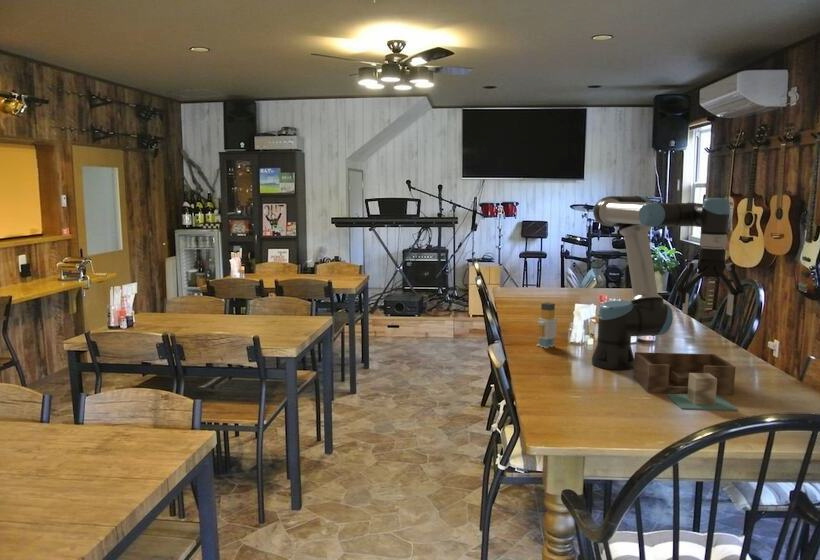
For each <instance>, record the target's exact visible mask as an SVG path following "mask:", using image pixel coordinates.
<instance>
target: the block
mask: <svg viewBox="0 0 820 560" xmlns="http://www.w3.org/2000/svg"><path fill="white" fill-rule="evenodd" d="M716 390H717V378H715V377H714V376H712V375H711V374H710V373H689V381H688V394H687V395H688V396H687V398H688V399H689V400H690V401H691V402H692V403H694V404H697V405H715V403H716Z"/></svg>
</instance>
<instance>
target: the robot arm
mask: <svg viewBox="0 0 820 560" xmlns="http://www.w3.org/2000/svg"><path fill="white" fill-rule="evenodd" d="M730 203H731V202H730V200H729V199H728V198H726V197H723V198H722V197H705V198H704V199H703V202H702V203H699V202H653V201H652V200H651V199H650V198H649V197H647V196H639V195H634V196H633V195H632V196H627V195H625V196H624V195H622V196H619V195H618V196H616V195H611V196H606V197H605V196H604V197H603V198H601V199H599V200H598V201H596V203H595V205H594V207H593V210H592V211H593V213H592V214H593V217H594V219H595V220H596V222H597V223H598V224H600V225H602V226H604V227H614V228H615V227H616V228H618V230H619V234H620V235H621V236H623V237H624V243H625V249H626V250H625V251H626V256H627V257H626V258H627V263H628V268H629V269H628V271H629V276H630V283H631V289H632V298H631V300H610V301H606V302H603V303H601V305H599V310H598V314H597V315H598V316H597V317H598V320H597V321H598V326H597V327H598V328H597V343H596V346H595V349H594V351H593V354H592V356H591V364H592V365H593V366H595V367H597V368H601V369H605V370H606V369H607V370H614V371H616V370H617V371H625V370H632V369H634V356H635V355H634V352H633V349H632V345H631V343H632V342H631V341H632V337H649V336H651V337H656V336H662V335H665V334H667V333H668V332H669V330H670V329H671V327H672V324H673V319H674V316H673V315H674V314H673V311H672V308H671V307H670V305H669V304H667V303H665V301H664V298H663V296H662V295H660V294H659V293H658V289H657V288H658V287H657V281H656V275H655V274H656V273H655V269H654V262H653V258H652V257H653V256H652V250H651V245H650V244H651V243H650V240H649V239H650V237H649V232H650V231H651V229H652V227H654V228H656V227H698V228H700V236H699V237H700V238H699V246H700V247H699V250H698V261H697V263H696V262H691V261H688V262H687V263H686V269H685V270H684V272H683V273H682V276H681V277H680V279H679V280H678V282H677V283H676V285H675V286H674V290H675V291H677V292H679V293H680V296H679V297H680V299H679V302H680V303H681V304H682V310H681V312H682V314H684V315H688V312H689V311H688V310H689V309H688V308H689V299H690V294H689V293H688V291H690V290H691V289H692V288H693V287H694V286H695V285H696V284H697V283H698V281H700V280H701V279H702V278H704V277H705V278H719V280H721V282H722V284H724V286H725V287H726V289H728V291H729V292H730V293H728V294H727V302H726V311H725V313H726V315H728V316H730V317H731V316H732V317H733V310H734V309H733V307H734V306H735V305H737V301H738V299H737V297H738V296H739V294H744V292H745V290H744V288H743V285H742V283H741V280H740V279H739V277H738V274H737V271H736V264H735V263H732V262H729V263H725V261H726V255H727V253H726V252H727V250H726V247H727V240H728V228H729V222H730V221H729V219H730V213H731V210H730V206H731V205H730ZM696 268H697V270H698V271H697V272H696V273H695V274H694V275H693V276H692V277H691V278H690V276H691V274H692V272H693V271H694V270H695V269H696ZM725 269H726V271H728V273H729V275H730V278H731V280H732V282H733V284H732V283H731V282H730V280H729V279H728V278H727V276H726V275H725V274H724V271H725ZM689 278H690V279H689ZM688 279H689V280H688ZM733 285H734V286H733Z"/></svg>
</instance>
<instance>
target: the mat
mask: <svg viewBox="0 0 820 560" xmlns="http://www.w3.org/2000/svg"><path fill="white" fill-rule="evenodd" d="M666 396H667V397H668V398H669V399H670V400H671V401H672V402H673V403H674V404H675V405H677V406H678V407H679V409H681V410H695V409H700V410H701V411H703V410H704V411H731V410H732V411H733V412H734V411H735V412H737V411H738V408H737V407H735V406H734V405H733V404H731V403H730V402H729V401H727V400H726V399H725V398H723V397H722V396H721V395H716V403H715V405H697V404H694V403H692V402H691V401H690V400H689V399H688V398H687V396H688V394H680V393H666Z"/></svg>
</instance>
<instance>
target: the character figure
mask: <svg viewBox="0 0 820 560" xmlns="http://www.w3.org/2000/svg"><path fill="white" fill-rule="evenodd" d="M555 305H556V304H555V303H551V302H542V303H541V305H540V307H541V308H540V309H541V310H540V314H541V315H540V317H538V321H537V326H538V327H537V330H538V331H537V338H538V339H539V343H536V347H538V346H540V347H539V348H542V347H544V348H543V349H549V348H553V346H554V347H555V342H554V341H555V338H557V320H558V319H557V317H555V307H556V306H555ZM549 346H550V347H549Z"/></svg>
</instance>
